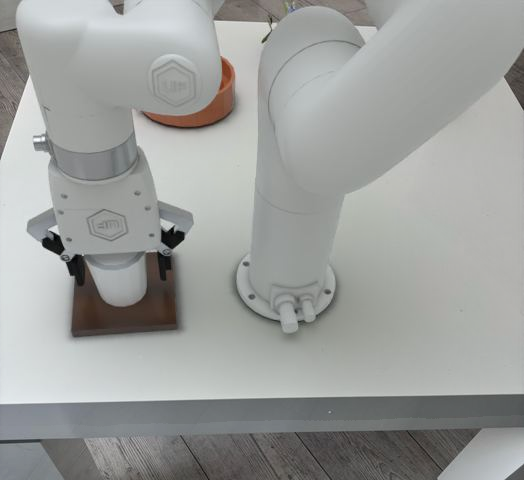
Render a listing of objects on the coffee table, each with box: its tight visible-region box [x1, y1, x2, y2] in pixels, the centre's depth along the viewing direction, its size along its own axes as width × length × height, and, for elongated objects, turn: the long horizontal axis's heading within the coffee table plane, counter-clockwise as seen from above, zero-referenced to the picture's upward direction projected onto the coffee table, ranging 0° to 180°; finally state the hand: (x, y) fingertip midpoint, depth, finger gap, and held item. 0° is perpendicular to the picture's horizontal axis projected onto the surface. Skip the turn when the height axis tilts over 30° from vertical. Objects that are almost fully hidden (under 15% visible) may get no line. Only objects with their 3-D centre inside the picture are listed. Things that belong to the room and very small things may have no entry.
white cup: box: [83, 251, 147, 307], centre depth 63 cm, size 7×7×7 cm
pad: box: [70, 251, 178, 338], centre depth 66 cm, size 12×12×1 cm
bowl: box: [141, 55, 236, 128], centre depth 90 cm, size 16×16×5 cm
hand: (123, 274), depth 64 cm, fingers open, 9 cm apart
